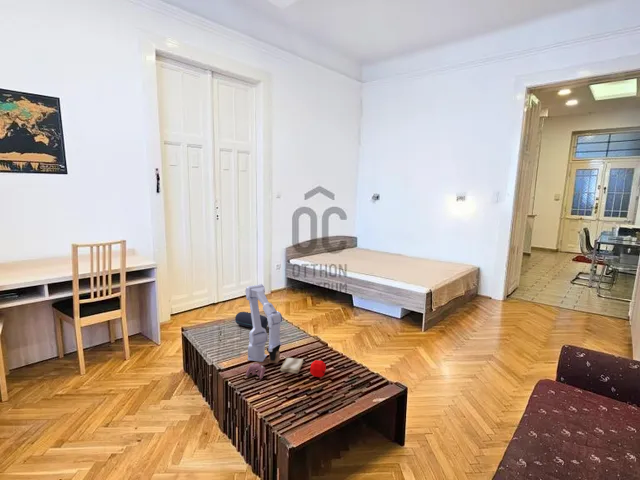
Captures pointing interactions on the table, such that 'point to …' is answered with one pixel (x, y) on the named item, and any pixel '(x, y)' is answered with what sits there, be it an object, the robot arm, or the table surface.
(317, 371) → the ball
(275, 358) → the walnut block
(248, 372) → the video game controller
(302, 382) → the table surface
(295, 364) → the shallow cream tray
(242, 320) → the portable speaker
